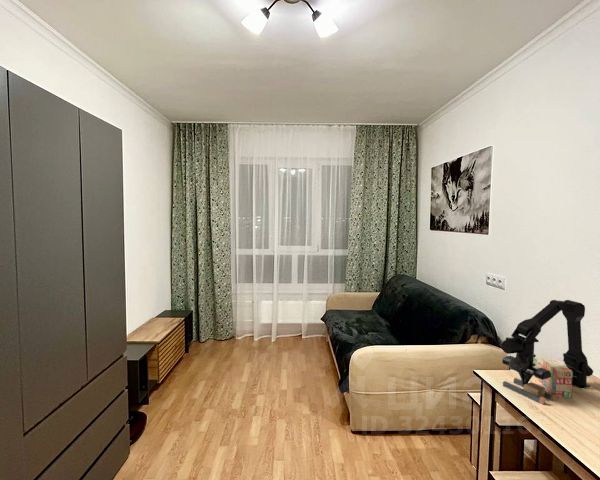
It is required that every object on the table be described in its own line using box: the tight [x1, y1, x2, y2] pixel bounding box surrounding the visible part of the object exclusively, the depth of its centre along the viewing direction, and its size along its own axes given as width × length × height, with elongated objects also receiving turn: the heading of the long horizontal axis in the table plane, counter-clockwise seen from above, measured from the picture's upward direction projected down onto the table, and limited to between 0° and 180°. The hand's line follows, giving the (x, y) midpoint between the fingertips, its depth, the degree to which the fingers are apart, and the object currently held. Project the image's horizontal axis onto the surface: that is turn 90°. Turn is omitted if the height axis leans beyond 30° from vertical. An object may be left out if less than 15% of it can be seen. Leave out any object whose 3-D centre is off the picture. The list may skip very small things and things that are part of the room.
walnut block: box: [523, 381, 546, 398], centre depth 156 cm, size 5×6×4 cm
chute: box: [502, 377, 558, 405], centre depth 158 cm, size 9×18×2 cm, turn 24°
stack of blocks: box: [533, 357, 573, 399], centre depth 163 cm, size 21×6×12 cm, turn 169°
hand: (524, 385), depth 159 cm, fingers closed
